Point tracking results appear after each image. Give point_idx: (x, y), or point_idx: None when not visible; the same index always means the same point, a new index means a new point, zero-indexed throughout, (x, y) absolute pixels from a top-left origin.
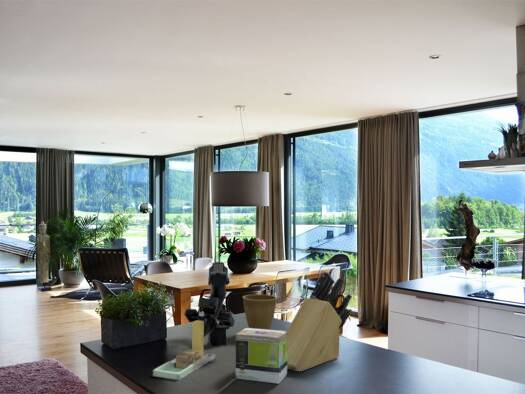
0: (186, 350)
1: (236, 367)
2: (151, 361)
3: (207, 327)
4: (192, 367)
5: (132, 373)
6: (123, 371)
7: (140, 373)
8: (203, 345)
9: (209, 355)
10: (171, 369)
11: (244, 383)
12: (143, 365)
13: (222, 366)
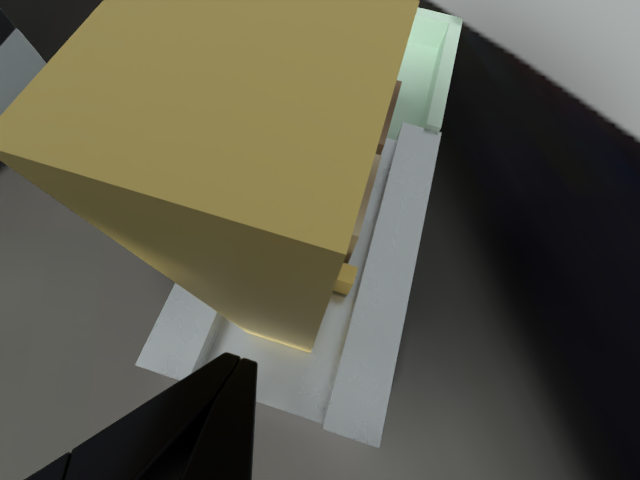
0: (367, 200)
1: (10, 22)
2: (598, 302)
3: (37, 474)
4: None
5: (573, 116)
6: (631, 136)
7: (537, 118)
8: (225, 316)
9: (186, 292)
10: (398, 114)
11: (28, 39)
12: (597, 225)
13: (114, 248)
